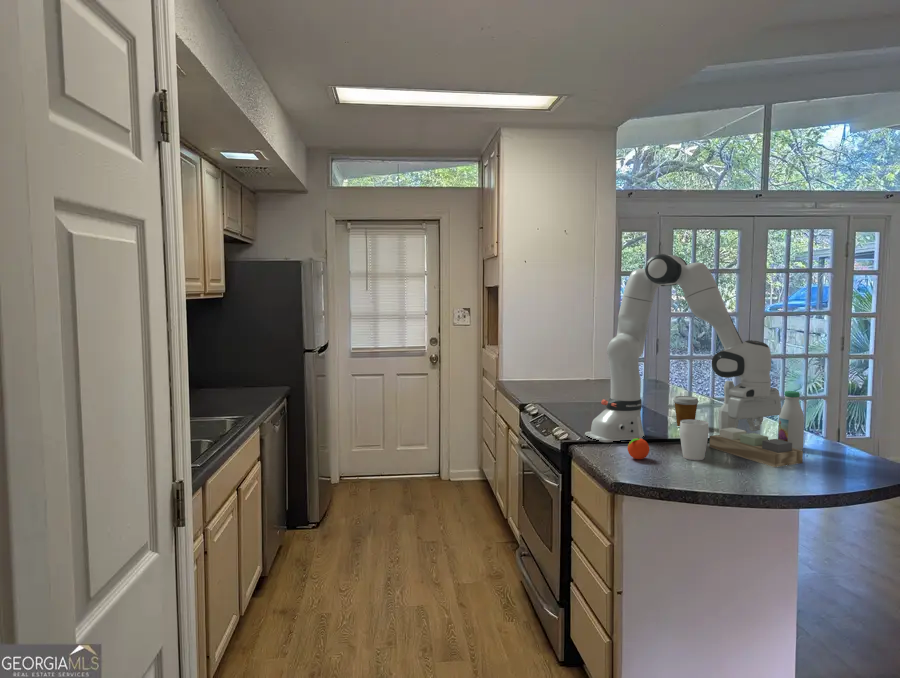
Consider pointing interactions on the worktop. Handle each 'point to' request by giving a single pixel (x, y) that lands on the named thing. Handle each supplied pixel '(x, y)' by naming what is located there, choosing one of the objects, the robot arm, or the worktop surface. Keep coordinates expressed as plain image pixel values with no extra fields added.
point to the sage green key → (752, 439)
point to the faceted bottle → (726, 409)
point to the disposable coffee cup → (685, 408)
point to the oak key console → (756, 452)
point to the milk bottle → (791, 421)
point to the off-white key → (731, 433)
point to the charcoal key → (777, 445)
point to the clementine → (638, 448)
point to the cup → (694, 438)
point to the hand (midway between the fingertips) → (754, 430)
